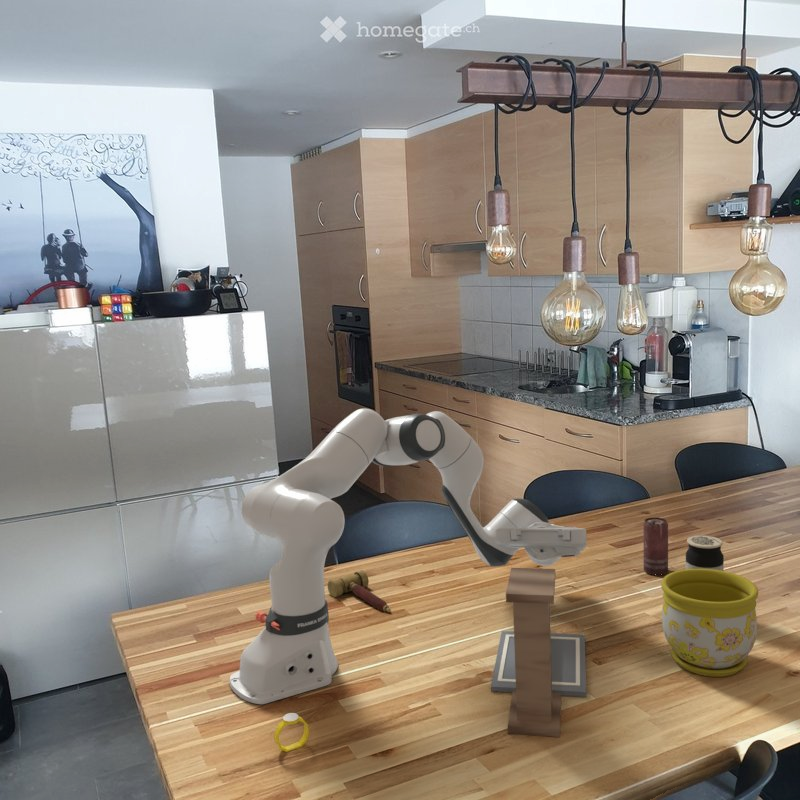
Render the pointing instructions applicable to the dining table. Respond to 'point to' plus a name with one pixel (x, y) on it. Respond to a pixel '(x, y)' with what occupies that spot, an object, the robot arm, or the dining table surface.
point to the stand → (533, 654)
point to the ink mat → (563, 660)
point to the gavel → (356, 589)
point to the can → (655, 546)
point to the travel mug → (704, 553)
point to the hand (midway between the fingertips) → (539, 532)
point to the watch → (289, 720)
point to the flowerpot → (709, 620)
